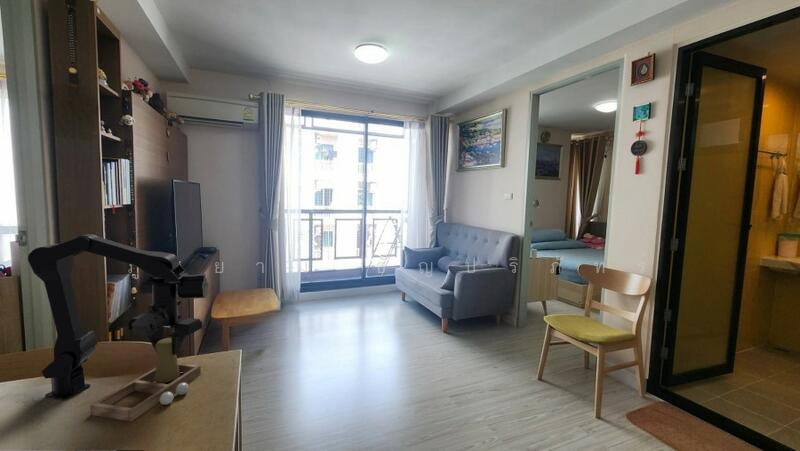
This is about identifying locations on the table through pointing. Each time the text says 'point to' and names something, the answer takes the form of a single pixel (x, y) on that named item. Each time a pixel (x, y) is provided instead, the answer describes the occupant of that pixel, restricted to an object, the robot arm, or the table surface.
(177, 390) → the pebble
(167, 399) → the pebble
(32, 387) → the table surface
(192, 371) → the caddy
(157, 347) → the olive tapered figurine
